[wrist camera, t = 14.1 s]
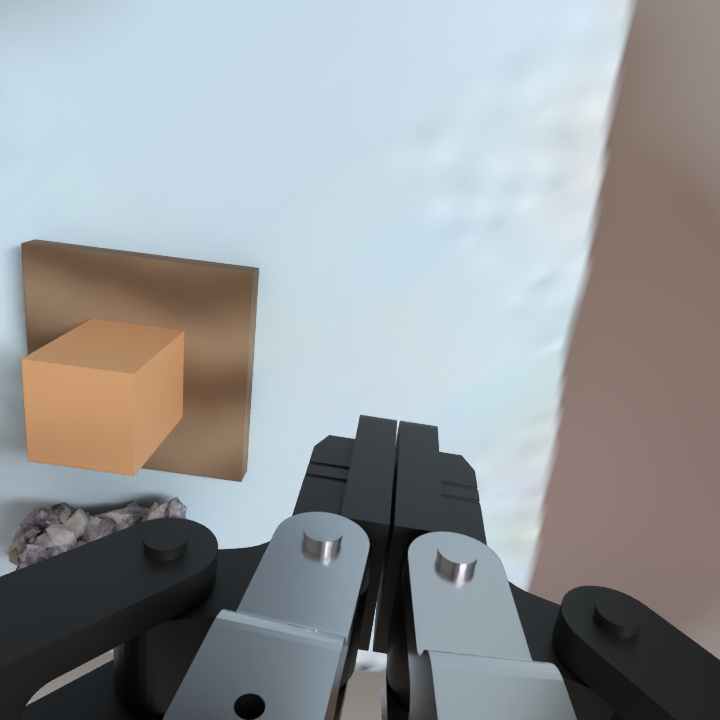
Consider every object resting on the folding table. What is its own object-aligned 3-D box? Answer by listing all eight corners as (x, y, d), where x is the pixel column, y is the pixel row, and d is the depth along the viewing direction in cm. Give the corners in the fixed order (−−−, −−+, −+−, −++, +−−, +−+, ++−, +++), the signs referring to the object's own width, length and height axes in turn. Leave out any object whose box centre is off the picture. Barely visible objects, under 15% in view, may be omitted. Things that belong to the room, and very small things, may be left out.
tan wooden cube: (91, 318, 40) (21, 359, 33) (184, 330, 40) (133, 374, 33) (94, 405, 42) (27, 461, 35) (182, 417, 42) (134, 475, 35)
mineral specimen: (211, 500, 41) (74, 621, 35) (227, 583, 47) (112, 699, 41) (87, 419, 47) (-50, 511, 40) (115, 502, 52) (-1, 594, 46)
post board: (35, 239, 40) (-46, 262, 33) (258, 268, 40) (225, 297, 33) (46, 442, 45) (-23, 500, 38) (246, 470, 45) (214, 534, 37)
